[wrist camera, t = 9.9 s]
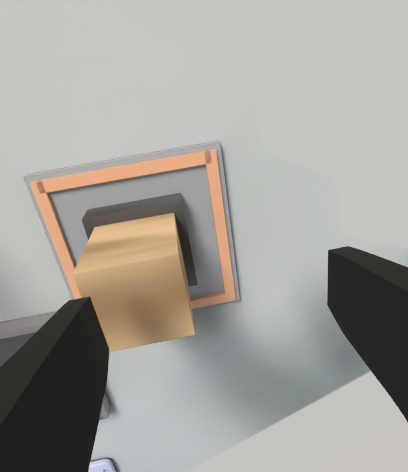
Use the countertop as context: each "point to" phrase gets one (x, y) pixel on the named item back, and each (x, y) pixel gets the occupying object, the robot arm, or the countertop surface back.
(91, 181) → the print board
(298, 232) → the countertop surface
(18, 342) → the pad
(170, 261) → the stamp
